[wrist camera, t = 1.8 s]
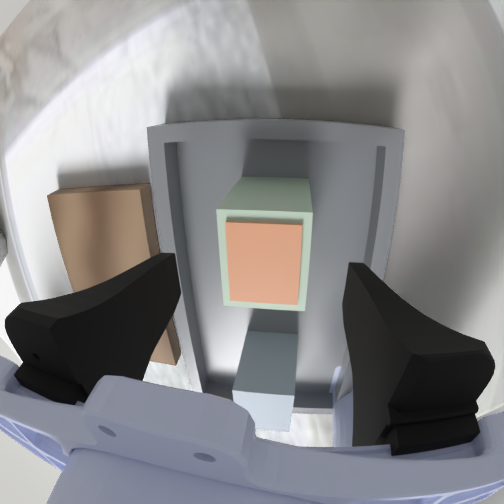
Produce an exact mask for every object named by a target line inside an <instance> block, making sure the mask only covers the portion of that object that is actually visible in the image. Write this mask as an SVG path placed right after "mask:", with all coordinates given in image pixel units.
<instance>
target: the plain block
mask: <svg viewBox="0 0 504 504" xmlns="http://www.w3.org/2000/svg"><path fill="white" fill-rule="evenodd" d="M297 348H298V334H285V333H270V332H257V331H247V333H246V337H245V341H244V345H243V349H242V353H241V357H240V361H239V365H238V369H237V373H236V377H235V381H234V385H233V389H232V392H233V401H234V402H235V403H236V404H238V405H240V406H241V407H243V408H244V409H246V410H247V411H248V412H249V413H250V415H251V417H252V419H253V420H254V422H255V429H260V430H271V431H284V432H289V429H290V423H291V416H292V410H293V403H294V396H295V382H296V366H297Z"/></svg>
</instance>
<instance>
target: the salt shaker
mask: <svg viewBox="0 0 504 504" xmlns="http://www.w3.org/2000/svg"><path fill="white" fill-rule="evenodd" d="M6 255H7V244H6V239H5V237H4V235H3V233H2V232H1V230H0V266H1V264H2V262H3V260H4V258H5V257H6Z"/></svg>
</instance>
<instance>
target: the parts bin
mask: <svg viewBox="0 0 504 504" xmlns="http://www.w3.org/2000/svg"><path fill="white" fill-rule="evenodd" d="M147 135H148V147H149V158H150V168H151V177H152V186H153V194H154V202H155V210H156V217H157V224H158V231H159V237H160V243H161V250H162V252H163V253H175V256H176V262H177V269H178V275H179V281H180V287H181V296H180V299H179V302H178V304H177V307H176V310H175V312H174V318H175V323H176V328H177V332H178V336H179V341H180V345H181V349H182V353H183V358H184V362H185V366H186V370H187V374H188V377H189V381H190V385H191V389H192V391H195V392H201V393H208V394H212V395H215V396H219V397H222V398H226V399H230V400H232V401H233V392H232V389H233V385H234V381H235V377H236V373H237V369H238V365H239V361H240V357H241V353H242V349H243V345H244V341H245V337H246V333H247V331H257V332H270V333H285V334H298V348H297V366H296V382H295V396H294V403H293V410H292V413H304V414H332V412H333V393H329V390H330V387H331V383H332V379H333V376H334V372H335V369H336V367H338V366H341V368H340V372H339V375H338V379H337V383H336V386H335V387H334V388H335V399H336V403H337V402H338V401H339V400H340V399H341V398H342V397H344V396H345V395H347V394H349V393H351V390H352V388H353V379H352V369H351V362H350V357H349V351H348V346H347V340H346V335H345V330H344V324H343V310H342V301H343V296H344V290H345V284H346V277H347V271H348V264H349V262H358V263H364V264H365V265H367V266H368V267H369V268H370V269H371V270H372V271H373V272H374V273H375V274H376V275H377V276H378V277H379V278H380V279H381V280H382V281H383V279H384V274H385V270H386V265H387V260H388V255H389V250H390V245H391V239H392V234H393V228H394V222H395V215H396V209H397V201H398V194H399V186H400V178H401V168H402V158H403V146H404V130H401V129H397V128H393V127H388V126H380V125H372V124H362V123H352V122H340V121H327V120H308V119H221V120H203V121H189V122H177V123H166V124H161V125H156V126H151V127H147ZM241 177H284V178H308V179H309V184H310V193H311V201H312V210H313V218H312V234H311V249H310V262H309V274H308V285H307V296H306V306H305V311H291V310H275V309H260V308H246V307H234V306H224V303H223V292H222V280H221V268H220V255H219V241H218V227H217V213H216V209H217V208H218V206H219V205H220V204H221V203H222V201H223V200H224V199H225V197H226V196H227V195H228V193H229V192H230V191H231V190H232V188H233V187H234V186H235V184H236V183H237V182H238V181H239V179H240V178H241ZM338 368H339V367H338ZM335 376H336V375H335ZM233 402H234V401H233Z"/></svg>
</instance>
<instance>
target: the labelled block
mask: <svg viewBox="0 0 504 504" xmlns="http://www.w3.org/2000/svg"><path fill="white" fill-rule="evenodd" d="M216 213H217V227H218V241H219V255H220V268H221V280H222V292H223V303H224V306H234V307H246V308H260V309H275V310H291V311H305V306H306V296H307V285H308V274H309V262H310V249H311V234H312V218H313V210H312V201H311V193H310V184H309V179H308V178H284V177H241V178H240V179H239V181H238V182H237V183H236V184H235V186H234V187H233V188H232V190H231V191H230V192H229V193H228V195H227V196H226V197H225V199H224V200H223V201H222V203H221V204H220V205H219V206H218V208H217V209H216Z"/></svg>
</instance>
